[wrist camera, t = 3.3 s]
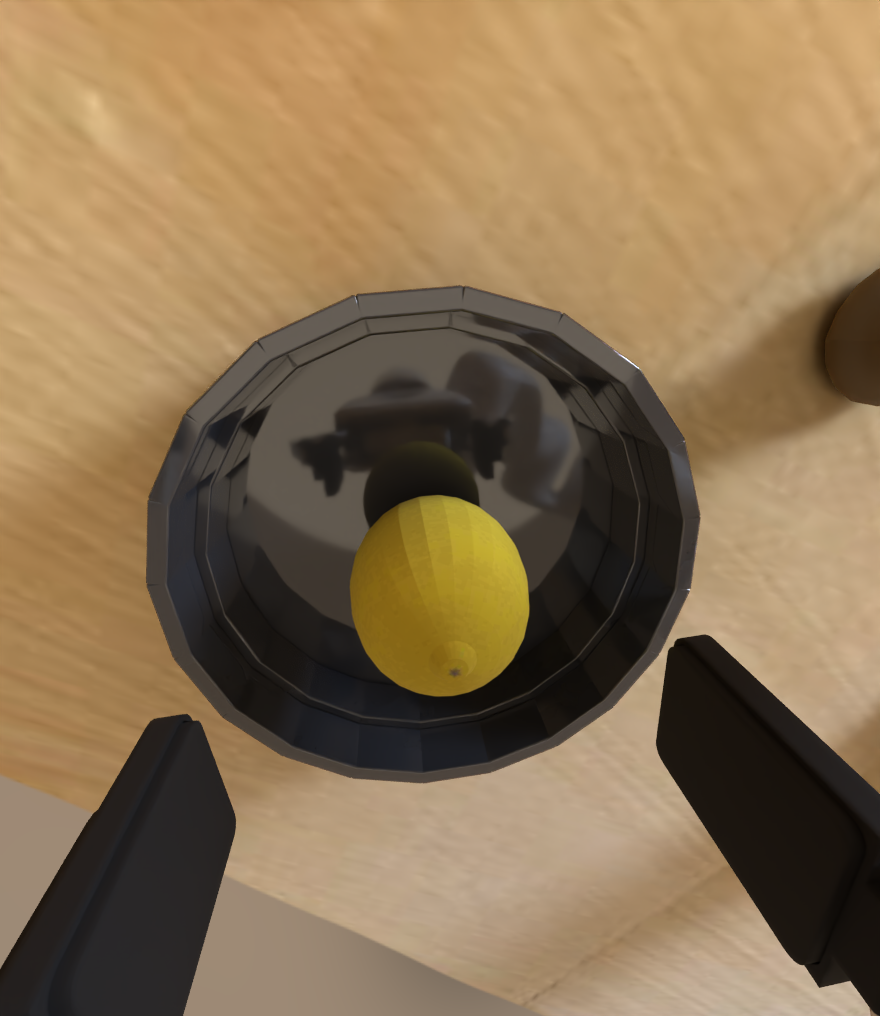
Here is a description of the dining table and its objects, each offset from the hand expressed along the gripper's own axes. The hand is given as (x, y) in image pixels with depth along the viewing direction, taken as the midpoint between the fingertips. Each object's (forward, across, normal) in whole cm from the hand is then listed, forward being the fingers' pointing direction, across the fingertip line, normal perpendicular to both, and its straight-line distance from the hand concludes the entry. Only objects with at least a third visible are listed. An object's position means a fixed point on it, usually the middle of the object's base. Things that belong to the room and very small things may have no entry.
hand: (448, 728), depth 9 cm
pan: (+10, 0, 0) cm, 10 cm away
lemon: (+10, 0, 0) cm, 10 cm away
